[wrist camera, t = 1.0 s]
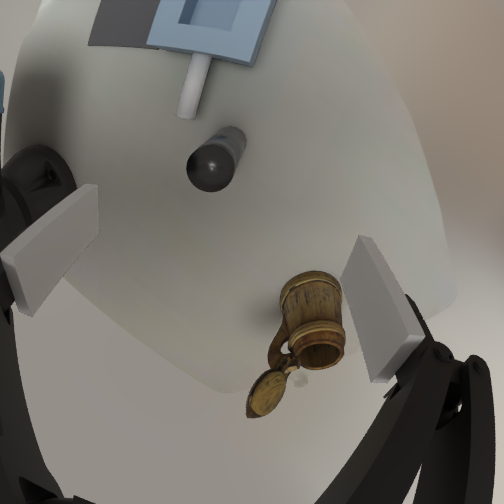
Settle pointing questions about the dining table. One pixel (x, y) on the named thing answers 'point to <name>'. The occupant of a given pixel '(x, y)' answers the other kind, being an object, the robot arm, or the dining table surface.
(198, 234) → the dining table surface
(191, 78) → the block
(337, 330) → the wooden mug
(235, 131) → the bottle
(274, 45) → the dining table surface
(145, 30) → the mat
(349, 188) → the dining table surface
